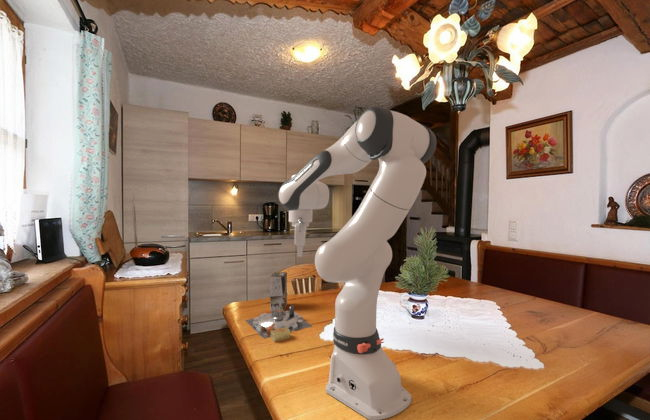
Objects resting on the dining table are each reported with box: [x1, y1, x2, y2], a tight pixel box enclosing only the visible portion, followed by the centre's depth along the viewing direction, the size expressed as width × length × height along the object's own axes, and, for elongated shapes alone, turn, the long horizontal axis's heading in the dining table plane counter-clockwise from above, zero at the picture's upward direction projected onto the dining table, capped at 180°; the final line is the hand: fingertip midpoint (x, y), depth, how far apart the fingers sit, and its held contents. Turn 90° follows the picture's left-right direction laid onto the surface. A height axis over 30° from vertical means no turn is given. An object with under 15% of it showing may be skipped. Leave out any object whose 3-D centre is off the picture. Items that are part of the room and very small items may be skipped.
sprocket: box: [253, 305, 304, 333], centre depth 119 cm, size 19×19×6 cm
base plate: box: [245, 310, 313, 339], centre depth 119 cm, size 20×20×1 cm
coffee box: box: [269, 271, 288, 312], centre depth 137 cm, size 9×6×16 cm
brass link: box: [270, 327, 291, 343], centre depth 105 cm, size 3×6×4 cm, turn 123°
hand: (300, 254), depth 112 cm, fingers open, 8 cm apart
